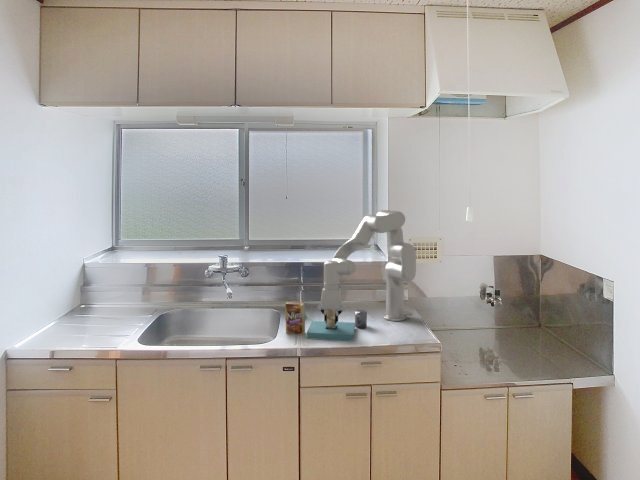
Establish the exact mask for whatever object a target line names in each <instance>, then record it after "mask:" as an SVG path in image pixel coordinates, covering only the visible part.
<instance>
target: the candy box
mask: <svg viewBox="0 0 640 480" xmlns="http://www.w3.org/2000/svg"><path fill="white" fill-rule="evenodd" d="M285 333H286V334H293V335H300V336H303V335H304V334H305V333H306V303H304V302H296V301H286V303H285Z"/></svg>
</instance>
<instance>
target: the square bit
mask: <svg viewBox="0 0 640 480" xmlns="http://www.w3.org/2000/svg"><path fill="white" fill-rule="evenodd" d="M335 315H336V312H335V310H331V309H327V327H331V328H335V325H336V324H335Z"/></svg>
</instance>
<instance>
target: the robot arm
mask: <svg viewBox="0 0 640 480" xmlns="http://www.w3.org/2000/svg"><path fill="white" fill-rule="evenodd" d="M405 222H406V216H405V213H403V212H401V211H398V210H390V209H389V210H387V209H380V210H378V211H377V212H376V214H375V215H374V214H368V215H365V216H364V217H363V218H362V220H361V221H360V223H359V225H358V227H357V228H356V230H355V232H354V233H353V235H352V236H351V237H350V239H349V240H347V241H346V242H344V243H343V244H342V245H341V246H340V247H339V248H338V249H337V250H336V252H335V253H334V255H333V257H332V259H331V260H327V261H325V262H324V263H323V287H322V289H321V294H320V295H321V297H320V303H319V304H318V306H317V307H316V308H317V310H318V311H320V312H321V314H323V316H324V317H323V319H324V320H323V321H326V323H327V309H331V310H335V312H336V315H335V324H336V323H337V322H339V315H341V314H342V313H343V312H346V307H345V305H344V304H343V294H342V288H343V284H341V282H340V276H347V277H348V276H351V275H353V274H355V272H356V270H357V265H356V264H355V262H353V261H352V260H349V259H348V257H349V256H350V255H351V254H353V253H355V252H357V251H361V250H363V249H365V248H366V247H367V246H368V244H369V243H370V241H371V239H372V238H373V236H374V235H375V233H378V234H384V233H385V234H386V249H387V250H386V251H387V253H386V254H387V256H388V257H389V258H390V259H393V260H390V261H388V262H386V264H385V268H384V273H385V281H386V283H385V284H386V288H385V289H386V290H385V292H386V293H385V295H386V296H385V312H384V313H383V314H382V318H383V319H385V320H386V321H390V322H391V321H392V322H398V321H399V322H402V321H405V320H406V319H407V316H413V312H412V311H410V310H405V308H404V307H405V302H404V301H405V283H404V282H407V283H409V282H412V281H413V280H414V279H415V277H416V274H417V252H416V249H415V247H414V245H413V244H411V243H409V242H405V241H404V234H403V233H404V232H403V228H402V227H403V226H404V225H405ZM398 260H399V261H398Z"/></svg>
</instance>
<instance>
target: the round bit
mask: <svg viewBox="0 0 640 480" xmlns="http://www.w3.org/2000/svg"><path fill="white" fill-rule="evenodd" d="M367 315H368V311H367V310H365V309H356V310H355V311H354V323H355V328H356V329H360V330H362V329H366V328H367V327H368V324H367V323H368V319H367V317H368V316H367Z"/></svg>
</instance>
